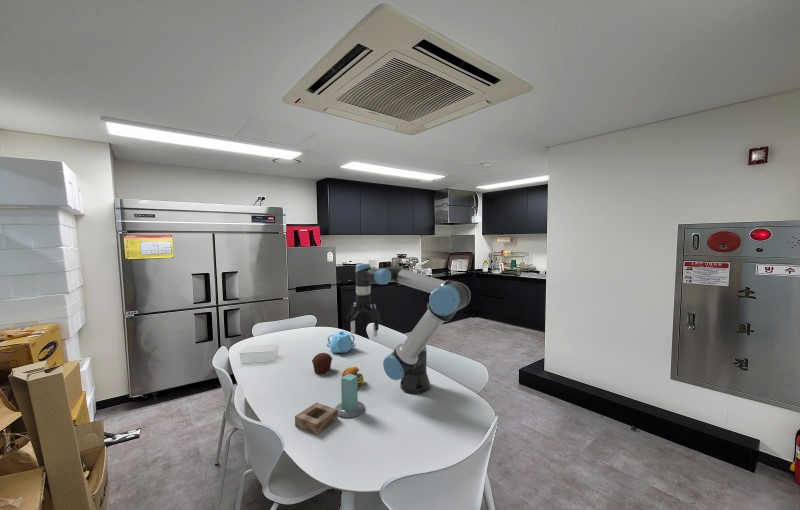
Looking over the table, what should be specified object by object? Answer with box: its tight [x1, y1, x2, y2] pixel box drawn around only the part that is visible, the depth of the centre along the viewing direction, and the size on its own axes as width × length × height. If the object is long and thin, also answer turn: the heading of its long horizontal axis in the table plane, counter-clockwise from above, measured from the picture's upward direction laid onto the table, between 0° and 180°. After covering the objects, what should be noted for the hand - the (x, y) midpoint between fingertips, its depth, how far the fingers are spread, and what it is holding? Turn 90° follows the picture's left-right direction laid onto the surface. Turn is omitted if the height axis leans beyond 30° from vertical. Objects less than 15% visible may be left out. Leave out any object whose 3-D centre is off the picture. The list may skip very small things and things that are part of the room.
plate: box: [334, 400, 365, 419], centre depth 135 cm, size 13×13×1 cm
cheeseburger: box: [341, 366, 365, 387], centre depth 160 cm, size 10×11×10 cm
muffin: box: [311, 352, 333, 375], centre depth 176 cm, size 12×11×10 cm
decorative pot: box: [326, 330, 356, 354], centre depth 209 cm, size 16×16×14 cm
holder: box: [294, 401, 339, 435], centre depth 126 cm, size 12×12×4 cm
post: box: [340, 374, 359, 412], centre depth 135 cm, size 5×5×14 cm
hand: (364, 334), depth 157 cm, fingers open, 13 cm apart
